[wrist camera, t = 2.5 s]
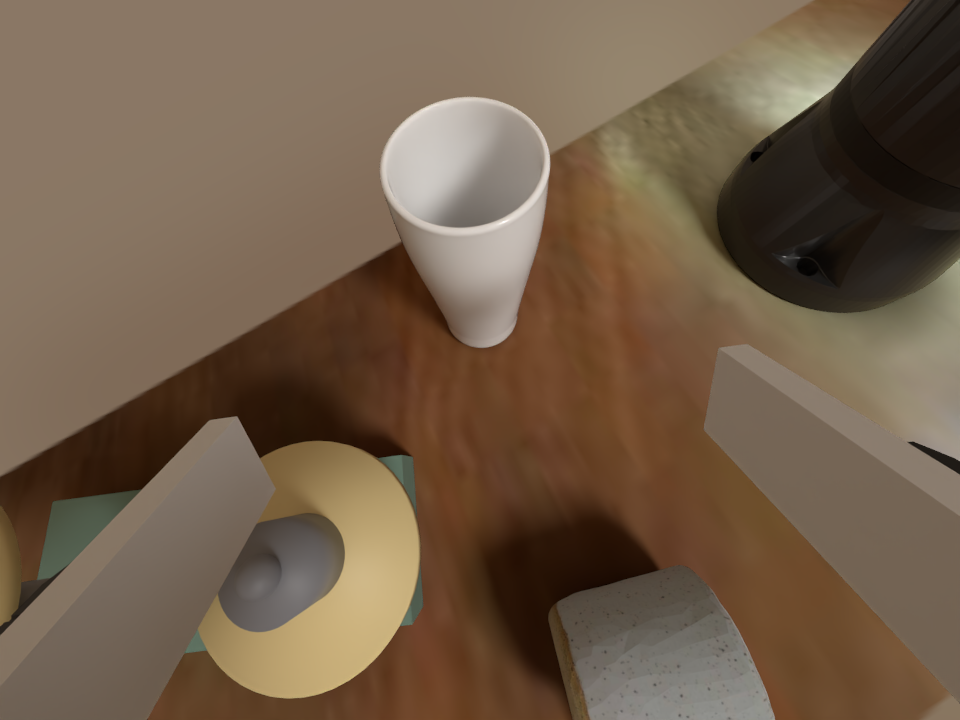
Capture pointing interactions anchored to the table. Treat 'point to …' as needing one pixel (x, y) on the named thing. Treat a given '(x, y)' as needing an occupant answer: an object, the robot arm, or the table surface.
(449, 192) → the white cup
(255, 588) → the balance
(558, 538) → the table surface
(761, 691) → the ceramic mug
